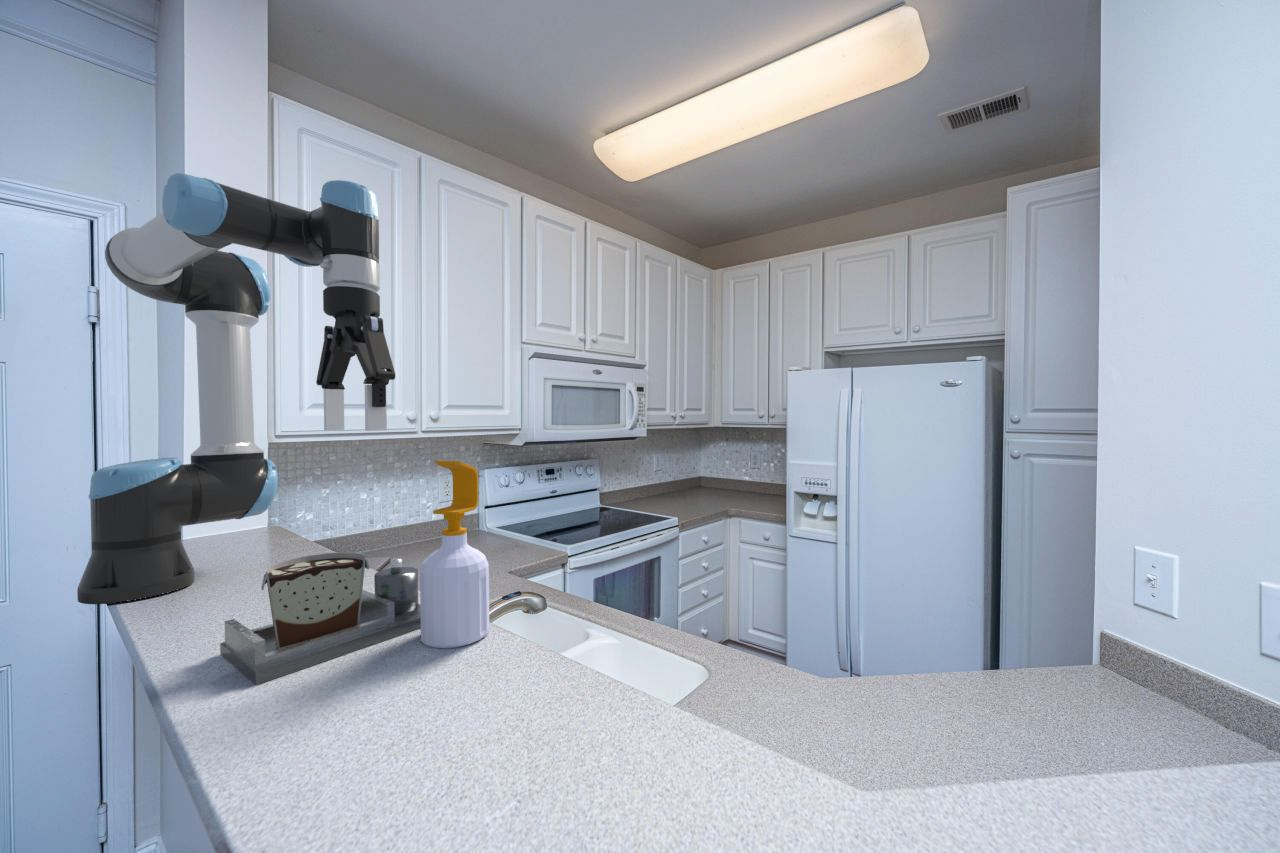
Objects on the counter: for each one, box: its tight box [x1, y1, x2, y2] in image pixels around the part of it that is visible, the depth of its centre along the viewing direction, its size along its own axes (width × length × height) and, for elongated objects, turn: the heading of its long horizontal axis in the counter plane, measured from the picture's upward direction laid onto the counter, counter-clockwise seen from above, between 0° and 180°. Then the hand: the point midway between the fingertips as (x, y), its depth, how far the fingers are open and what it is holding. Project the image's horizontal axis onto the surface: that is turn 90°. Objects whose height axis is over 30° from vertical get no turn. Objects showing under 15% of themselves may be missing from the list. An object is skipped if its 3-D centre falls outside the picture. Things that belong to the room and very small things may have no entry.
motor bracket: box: [219, 557, 421, 686], centre depth 72 cm, size 13×23×9 cm, turn 143°
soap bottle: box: [419, 460, 491, 649], centre depth 72 cm, size 9×9×25 cm
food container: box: [260, 551, 370, 650], centre depth 70 cm, size 12×6×10 cm, turn 136°
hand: (354, 430), depth 79 cm, fingers open, 13 cm apart
